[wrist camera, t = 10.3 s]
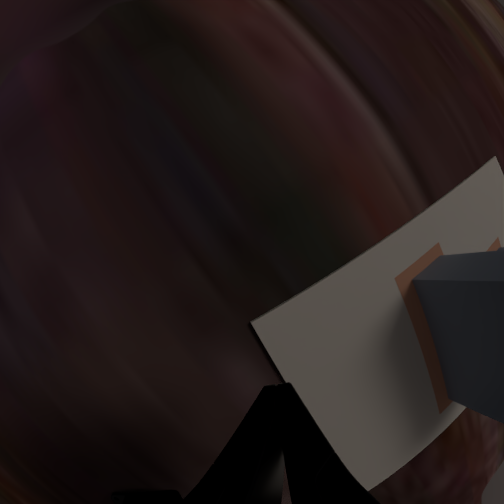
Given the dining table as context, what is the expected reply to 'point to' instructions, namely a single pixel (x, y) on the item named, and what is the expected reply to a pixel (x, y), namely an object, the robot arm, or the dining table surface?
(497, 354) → the t block
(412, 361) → the t mat
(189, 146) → the dining table surface
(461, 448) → the dining table surface
